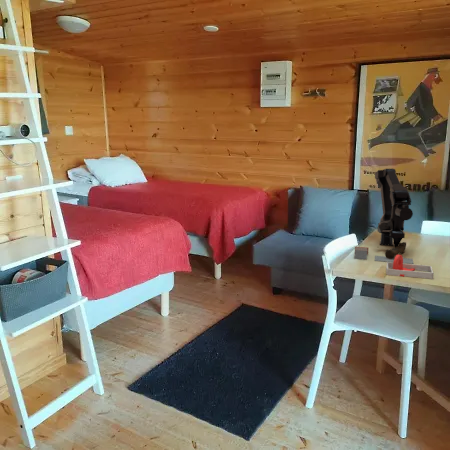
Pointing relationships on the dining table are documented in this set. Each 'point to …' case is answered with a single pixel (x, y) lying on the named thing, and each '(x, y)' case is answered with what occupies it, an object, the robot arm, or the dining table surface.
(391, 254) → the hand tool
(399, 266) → the bracket
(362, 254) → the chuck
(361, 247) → the key
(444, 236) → the dining table surface
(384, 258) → the mat
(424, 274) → the parts frame
